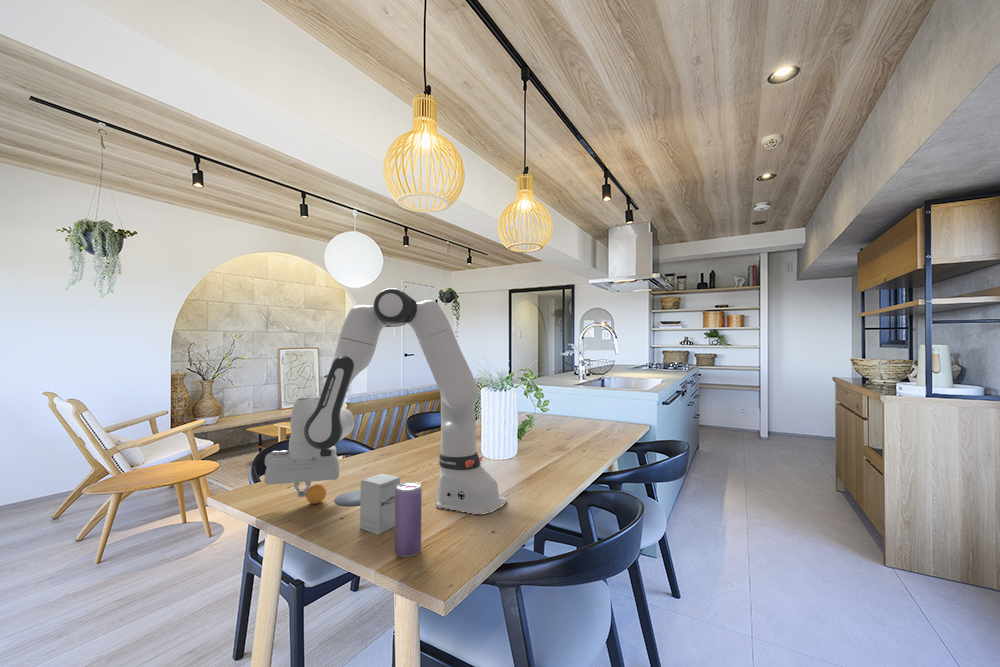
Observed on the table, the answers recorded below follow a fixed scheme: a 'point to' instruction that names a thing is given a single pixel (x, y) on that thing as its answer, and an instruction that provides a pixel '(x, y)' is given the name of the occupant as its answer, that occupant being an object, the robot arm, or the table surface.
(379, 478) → the supplement box
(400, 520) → the beverage can
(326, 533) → the table surface
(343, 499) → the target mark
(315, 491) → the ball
